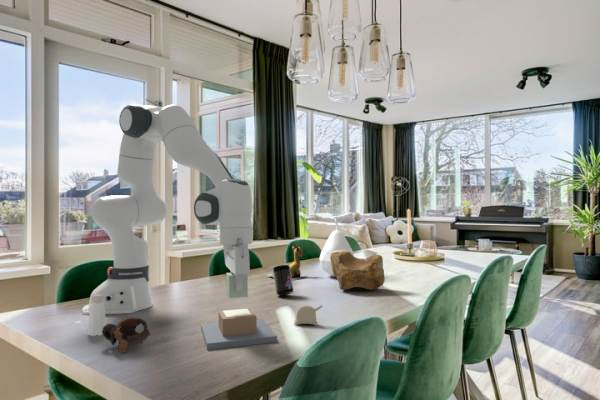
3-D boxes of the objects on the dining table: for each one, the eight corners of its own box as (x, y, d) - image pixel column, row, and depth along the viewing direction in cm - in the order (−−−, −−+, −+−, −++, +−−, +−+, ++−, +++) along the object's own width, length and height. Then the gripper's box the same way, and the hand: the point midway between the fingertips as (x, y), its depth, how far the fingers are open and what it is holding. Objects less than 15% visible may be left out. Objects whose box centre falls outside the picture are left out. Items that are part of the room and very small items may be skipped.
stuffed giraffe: (315, 278, 206) (315, 244, 206) (285, 283, 195) (285, 247, 195) (295, 273, 219) (295, 242, 219) (265, 278, 208) (265, 245, 208)
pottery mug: (153, 340, 115) (155, 317, 112) (141, 368, 107) (143, 344, 103) (107, 332, 114) (108, 308, 111) (91, 359, 106) (92, 335, 102)
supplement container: (284, 291, 161) (280, 264, 165) (272, 295, 165) (269, 269, 169) (297, 291, 166) (293, 265, 170) (285, 296, 170) (281, 270, 174)
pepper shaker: (83, 334, 121) (83, 294, 121) (103, 330, 125) (103, 291, 125) (90, 338, 117) (90, 297, 117) (111, 334, 121) (110, 294, 121)
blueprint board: (207, 349, 107) (206, 324, 107) (201, 329, 125) (200, 307, 125) (277, 341, 113) (276, 318, 113) (262, 323, 130) (261, 302, 130)
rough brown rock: (319, 291, 175) (318, 254, 175) (334, 284, 190) (334, 250, 190) (375, 296, 165) (374, 257, 165) (386, 288, 180) (386, 252, 180)
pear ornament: (314, 278, 202) (313, 219, 202) (332, 271, 222) (332, 217, 223) (347, 281, 195) (346, 219, 195) (363, 273, 215) (362, 217, 215)
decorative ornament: (294, 320, 131) (295, 303, 131) (322, 321, 131) (322, 304, 131) (293, 324, 127) (294, 306, 127) (322, 325, 127) (322, 307, 127)
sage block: (229, 298, 116) (228, 275, 116) (226, 294, 120) (226, 272, 120) (247, 296, 117) (247, 274, 117) (244, 293, 122) (244, 271, 122)
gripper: (255, 240, 110) (255, 294, 110) (241, 234, 129) (242, 280, 129) (230, 241, 108) (231, 296, 108) (220, 235, 127) (220, 282, 127)
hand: (236, 287), depth 119 cm, fingers closed on sage block, 5 cm apart
